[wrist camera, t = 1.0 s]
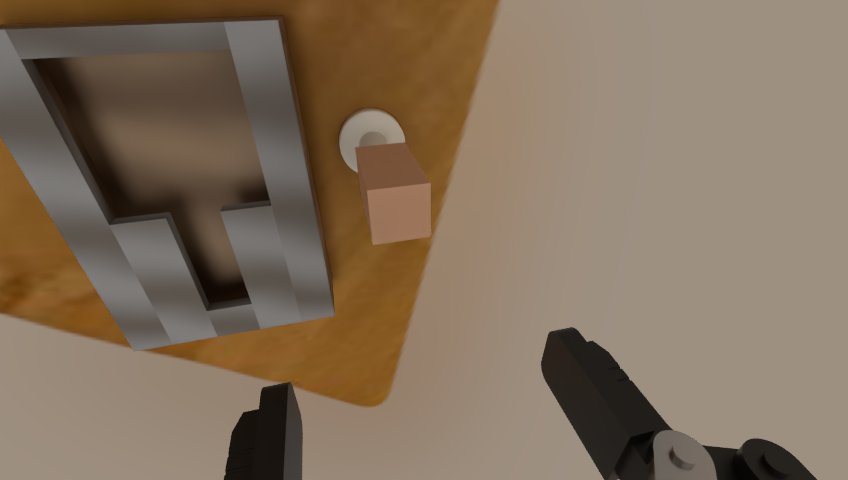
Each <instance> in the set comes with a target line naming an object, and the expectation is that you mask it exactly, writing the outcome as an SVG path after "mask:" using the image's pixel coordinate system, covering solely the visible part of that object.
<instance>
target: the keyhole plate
mask: <svg viewBox="0 0 848 480" xmlns="http://www.w3.org/2000/svg"><path fill="white" fill-rule="evenodd" d="M0 136H1V138H2V139H3V141H4V143H5V144H6V146H7V148H8V149H9V151H10V152H11V154H12V156H13V157H14V159H15V160H16V162H17V164H18V165H19V167H20V168H21V170H22V172H23V173H24V175H25V176H26V178H27V180H28V181H29V183H30V185H31V186H32V188H33V189H34V191H35V193H36V194H37V196H38V197H39V199H40V201H41V202H42V204H43V205H44V207H45V209H46V210H47V212H48V213H49V215H50V217H51V218H52V220H53V221H54V223H55V225H56V226H57V228H58V230H59V231H60V233H61V234H62V236H63V238H64V239H65V241H66V242H67V244H68V246H69V247H70V249H71V250H72V252H73V254H74V255H75V257H76V258H77V260H78V262H79V263H80V265H81V266H82V268H83V270H84V271H85V273H86V275H87V276H88V278H89V279H90V281H91V283H92V284H93V286H94V287H95V289H96V291H97V292H98V294H99V295H100V297H101V299H102V300H103V302H104V303H105V305H106V307H107V308H108V310H109V312H110V313H111V315H112V316H113V318H114V320H115V321H116V323H117V324H118V326H119V328H120V329H121V331H122V332H123V334H124V336H125V337H126V339H127V340H128V342H129V344H130V345H131V347H132V348H133V350H134V351H139V350H145V349H150V348H156V347H162V346H167V345H173V344H179V343H184V342H190V341H195V340H201V339H207V338H212V337H218V336H223V335H229V334H235V333H240V332H246V331H252V330H257V329H263V328H268V327H274V326H280V325H285V324H291V323H297V322H302V321H308V320H313V319H319V318H325V317H330V316H335V309H334V296H333V282H332V275H331V270H330V264H329V259H328V254H327V248H326V243H325V238H324V232H323V227H322V222H321V216H320V211H319V205H318V200H317V195H316V189H315V184H314V179H313V173H312V168H311V163H310V157H309V152H308V146H307V141H306V136H305V130H304V125H303V120H302V114H301V109H300V104H299V98H298V93H297V88H296V82H295V77H294V71H293V66H292V61H291V55H290V50H289V45H288V39H287V34H286V29H285V23H284V18H283V15H282V16H250V17H219V18H187V19H156V20H125V21H93V22H62V23H30V24H3V25H0Z"/></svg>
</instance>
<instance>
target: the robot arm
mask: <svg viewBox="0 0 848 480" xmlns="http://www.w3.org/2000/svg"><path fill="white" fill-rule="evenodd" d="M541 368H542V373H543V376H544V378H545V381H546V382H547V384H548V386H549V388H550V389H551V391H552V393H553V394H554V396H555V397H556V399H557V401H558V403H559V404H560V406H561V408H562V409H563V411H564V413H565V414H566V416H567V418H568V420H569V421H570V423H571V425H572V426H573V428H574V430H575V431H576V433H577V434H578V436H579V438H580V440H581V441H582V443H583V445H584V446H585V448H586V450H587V451H588V453H589V455H590V456H591V458H592V460H593V461H594V463H595V465H596V467H597V468H598V470H599V472H600V473H601V475H602V476H603V478H604V480H617V479H620V480H817V479H816V478H815V477H814V476H813V475H812V474H811V473H810V472H809V471H808V470H807V469H806V468H805V467H804V466H803V465H802V463H800V461H799V460H797V459H796V458H795V457H794V456H793V455H792V454H791V453H790V452H788V451H786V450H785V449H784V448H782V447H780V446H779V445H777V444H775V443H773V442H770V441H767V440H763V439H750V440H747V441H746V442H745V443H744V444H743V445H742V446H741V447H740V449H731V448H721V447H711V446H703V445H701V444H700V443H698V442H697V441H696V440H695V439H693V438H691V437H690V436H688V435H686V434H684V433H681V432H678V431H673V430H672V429H671V428H670V427H669V426H668V425H667V424H666V422H665V421H664V420H663V419H662V417H661V416H660V415H659V414H658V413H657V411H656V410H655V409H654V408H653V406H652V405H651V404H650V403H649V402H648V400H647V399H646V398H645V397H644V395H643V394H642V393H641V392H640V391H639V389H638V388H637V387H636V386H635V384H634V383H633V382H632V381H630V380H629V377H628V376H627V374H626V373H625V372H624V371H623V370H622V369H620V367H619V365H618V363H617V362H616V361H615V360H614V358H613V357H612V356H611V355H610V353H609V352H607V351H606V350H605V349H603V348H602V347H600V346H599V345H598V344H596V343H595V342H593V341H589V342H586V340H585V339H584V338H583V337H582V335H581V334H580V333H579V331H578V330H576V329H575V328H572V327H571V328H566V329H561V330H556V331H551V332H550V333H549V334H548V338H547V341H546V345H545V350H544V353H543V357H542V361H541ZM302 434H303V433H302V420H301V414H300V410H299V407H298V403H297V400H296V397H295V393H294V390H293V387H292V384H291V382H288V383H283V384H278V385H273V386H268V387H263V388H262V391H261V396H260V405H259V409H258V410H253V411H248V412H244V413H243V414H242V416H241V417H240V419H239V421H238V423H237V425H236V426H235V428H234V430H233V432H232V435H231V442H230V447H229V457H228V459H227V464H226V470H225V471H226V475H225V476H224V480H302V438H303V437H302V436H303V435H302Z"/></svg>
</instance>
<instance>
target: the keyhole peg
mask: <svg viewBox="0 0 848 480" xmlns="http://www.w3.org/2000/svg"><path fill="white" fill-rule="evenodd" d="M339 146H340V151H341V155H342V157H343V159H344V161H345V162H346V164H347V165H348V166H349V167H350V168H351V169H352V170H354V171H355V172H357V173H358V178H359V186H360V194H361V198H362V202H363V207H364V211H365V215H366V219H367V223H368V227H369V231H370V236H371V240H372V244H373V245H377V244H384V243H391V242H398V241H405V240H411V239H418V238H425V237H431V183H430V181H429V180H428V178H427V176H426V175H425V173H424V172H423V170H422V168H421V167H420V165H419V164H418V162H417V160H416V159H415V157H414V155H413V154H412V152H411V151H410V149H409V147H408V146H407V144H406V143H405V137H404V134H403V131H402V129H401V127H400V126H399V124H398V123H397V121H396V120H395V119H394V118H393V117H392V116H391V115H390V114H389V113H387V112H385V111H383V110H381V109H377V108H364V109H360V110H358V111H356V112H354V113H352V114H351V115H350V116H349V117H348V118H347V119H346V120H345V121H344V123H343V125H342V126H341V129H340V133H339Z"/></svg>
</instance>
